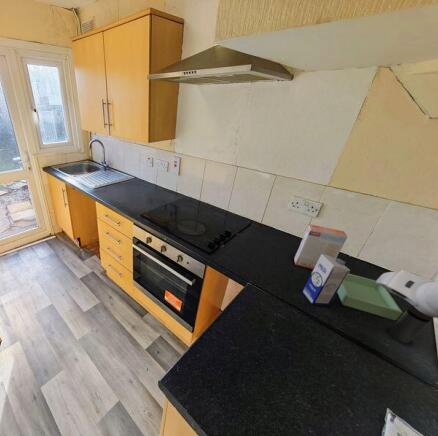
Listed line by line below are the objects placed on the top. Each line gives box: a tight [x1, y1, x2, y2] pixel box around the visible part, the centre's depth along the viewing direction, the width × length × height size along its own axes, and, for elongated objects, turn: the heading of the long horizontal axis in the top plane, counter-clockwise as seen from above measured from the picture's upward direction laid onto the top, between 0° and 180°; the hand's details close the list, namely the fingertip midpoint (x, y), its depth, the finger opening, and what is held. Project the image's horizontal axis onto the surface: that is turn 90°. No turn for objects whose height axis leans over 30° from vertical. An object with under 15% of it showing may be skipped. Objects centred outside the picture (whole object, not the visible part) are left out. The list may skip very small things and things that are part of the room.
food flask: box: [388, 305, 433, 344], centre depth 76 cm, size 5×5×12 cm
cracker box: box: [293, 223, 348, 271], centre depth 107 cm, size 14×6×21 cm, turn 65°
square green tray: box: [337, 273, 403, 322], centre depth 94 cm, size 17×18×4 cm
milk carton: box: [302, 254, 351, 306], centre depth 88 cm, size 7×7×20 cm
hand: (411, 301), depth 70 cm, fingers open, 8 cm apart
